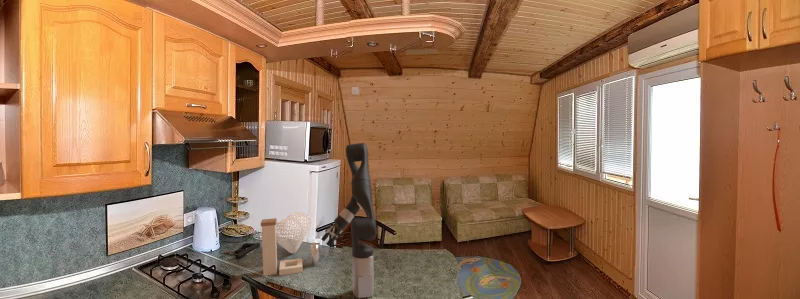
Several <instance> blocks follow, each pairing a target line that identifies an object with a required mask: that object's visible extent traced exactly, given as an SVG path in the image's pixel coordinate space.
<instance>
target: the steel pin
mask: <svg viewBox="0 0 800 299" xmlns="http://www.w3.org/2000/svg"><path fill="white" fill-rule="evenodd" d="M319 249H320V248H319V243H317V242H314V243H310V261H311V263H310V266H312V267H317V266H319V265H320V252H319V251H320V250H319Z"/></svg>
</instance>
